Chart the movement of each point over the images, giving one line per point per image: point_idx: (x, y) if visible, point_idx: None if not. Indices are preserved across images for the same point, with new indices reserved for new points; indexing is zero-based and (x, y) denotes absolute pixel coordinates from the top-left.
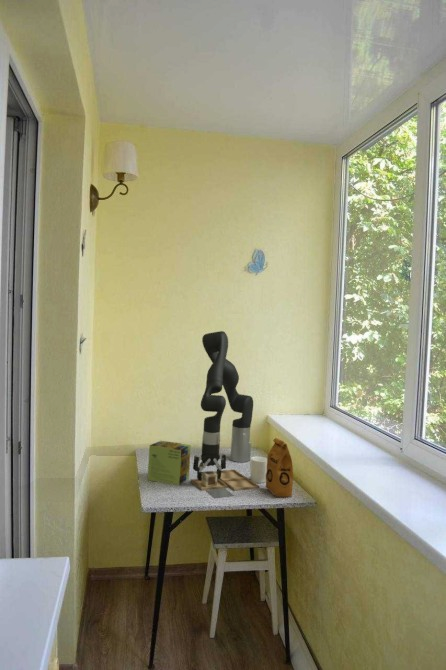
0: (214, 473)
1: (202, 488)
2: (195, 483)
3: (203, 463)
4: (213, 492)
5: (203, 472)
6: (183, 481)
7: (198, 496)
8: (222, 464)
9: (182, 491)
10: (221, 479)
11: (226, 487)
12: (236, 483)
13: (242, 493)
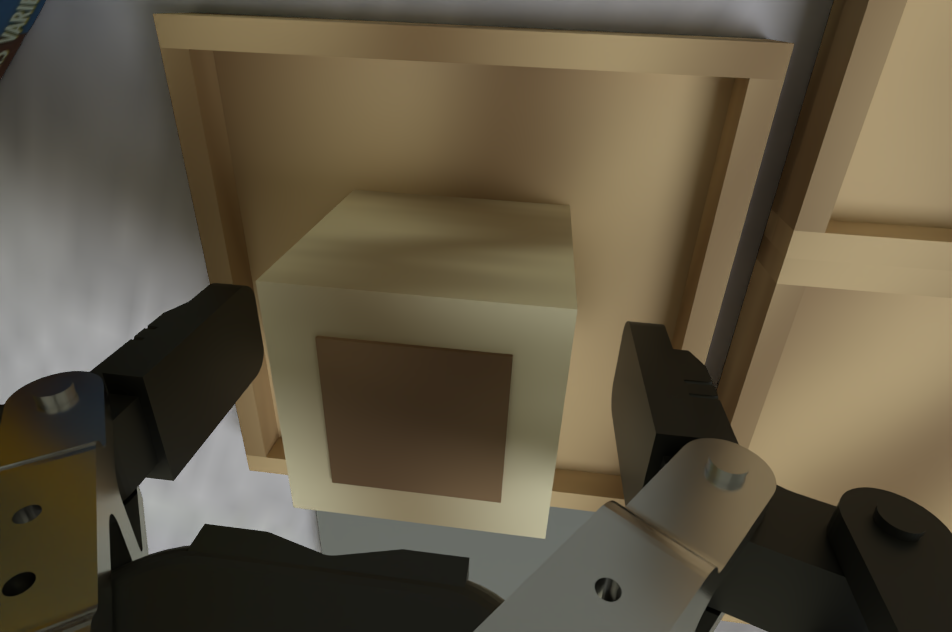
0: (511, 481)
1: (262, 470)
2: (207, 260)
3: (95, 545)
4: (385, 545)
5: (279, 338)
6: (17, 12)
7: (203, 523)
8: (903, 602)
9: (30, 344)
10: (792, 232)
11: None
12: (944, 404)
13: (726, 628)
